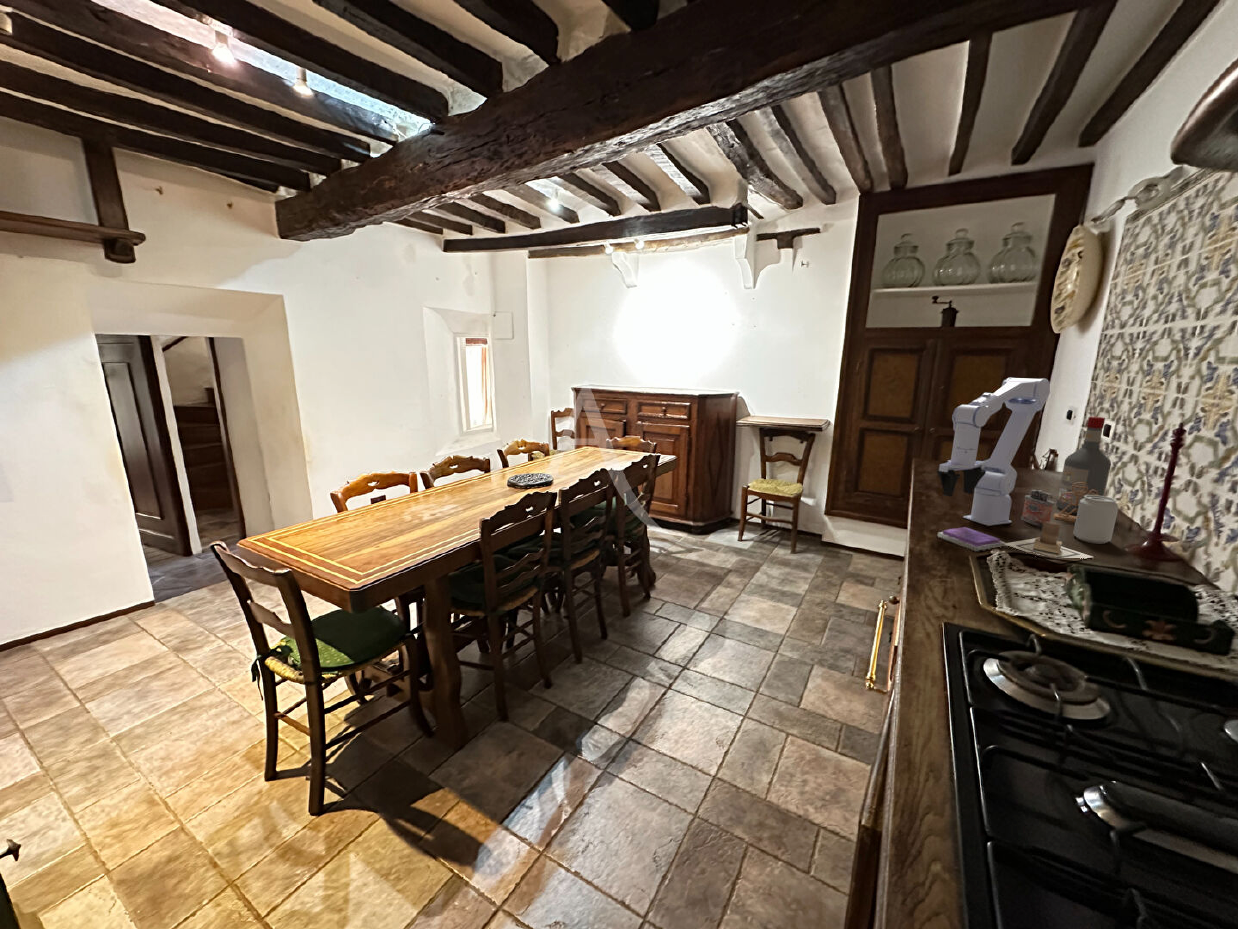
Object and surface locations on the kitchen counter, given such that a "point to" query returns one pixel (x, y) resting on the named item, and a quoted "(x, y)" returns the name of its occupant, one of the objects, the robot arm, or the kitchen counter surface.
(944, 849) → the kitchen counter surface
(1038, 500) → the lighter
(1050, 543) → the stamp
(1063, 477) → the liquor
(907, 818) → the kitchen counter surface
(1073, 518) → the gingerbread man figurine
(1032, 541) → the marked card
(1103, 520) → the can
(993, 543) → the ink pad
